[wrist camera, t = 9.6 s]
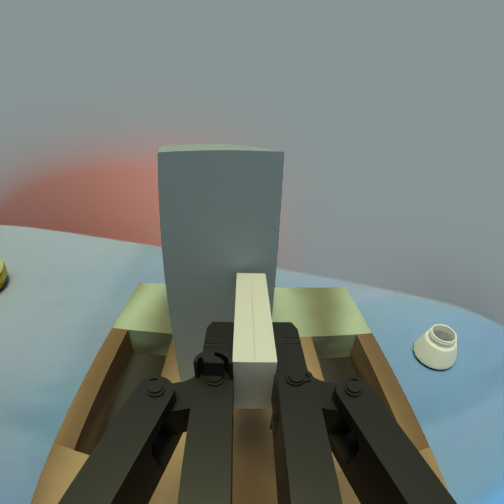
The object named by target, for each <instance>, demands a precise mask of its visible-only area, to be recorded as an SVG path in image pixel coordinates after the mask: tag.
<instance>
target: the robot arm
mask: <svg viewBox="0 0 504 504" xmlns="http://www.w3.org/2000/svg"><path fill="white" fill-rule="evenodd" d="M193 364H194V372H195V376H194V377H193V378H191V379H189V380H186V381H183V382H177V383H172V382H171V381H170V380H169V379H167V378H165V377H162V376H150V377H148V378H145V379H143V380H142V381H141V382H140V383H139V384H138V386H137V387H136V389H135V390H134V391H133V393H132V394H131V396H130V397H129V399H128V400H127V401H126V403H125V404H124V406H123V407H122V409H121V410H120V412H119V413H118V415H117V416H116V417H115V419H114V420H113V422H112V423H111V425H110V426H109V428H108V429H107V431H106V432H105V434H104V435H103V436H102V438H101V439H100V441H99V442H98V444H97V445H96V447H95V448H94V450H93V451H92V453H91V454H90V456H89V457H88V459H87V460H86V462H85V463H84V465H83V466H82V468H81V469H80V471H79V472H78V474H77V475H76V477H75V478H74V480H73V481H72V483H71V484H70V486H69V487H68V489H67V490H66V492H65V493H64V495H63V496H62V498H61V500H60V501H59V503H58V504H149V502H150V500H151V498H152V496H153V494H154V492H155V490H156V488H157V485H158V483H159V481H160V479H161V477H162V475H163V473H164V471H165V469H166V467H167V465H168V463H169V461H170V459H171V457H172V455H173V453H174V451H175V449H176V447H177V445H178V443H179V440H180V438H181V436H182V434H183V432H187V434H186V441H185V448H184V455H183V462H182V470H181V478H180V486H179V494H178V502H177V504H232V488H233V425H234V408H244V409H267V408H271V403H272V417H271V423H270V429H272V437H273V449H274V462H275V474H276V487H277V500H278V504H343V503H342V498H341V493H340V488H339V484H338V479H337V474H336V470H335V465H334V460H333V456H332V453H333V455H334V457H335V458H336V460H337V462H338V464H339V466H340V467H341V469H342V471H343V473H344V475H345V477H346V478H347V480H348V482H349V484H350V486H351V487H352V489H353V491H354V493H355V494H356V496H357V498H358V500H359V502H360V503H361V504H457V503H456V502H455V501H454V499H453V498H452V496H451V495H450V494H449V492H448V491H447V489H446V488H445V487H444V485H443V484H442V483H441V481H440V480H439V478H438V477H437V476H436V474H435V473H434V471H433V470H432V469H431V467H430V466H429V465H428V463H427V462H426V461H425V459H424V458H423V456H422V455H421V454H420V452H419V451H418V450H417V448H416V447H415V446H414V444H413V443H412V442H411V440H410V439H409V437H408V436H407V435H406V433H405V432H404V431H403V429H402V428H401V427H400V425H399V424H398V423H397V421H396V420H395V419H394V417H393V416H392V415H391V413H390V412H389V411H388V409H387V408H386V407H385V405H384V404H383V403H382V401H381V400H380V399H379V397H378V396H377V395H376V393H375V392H374V391H373V389H372V388H371V387H370V385H369V384H368V383H367V382H366V381H365V380H363V379H361V378H359V377H354V376H349V377H344V378H342V379H340V380H339V381H338V383H337V384H336V383H330V382H325V381H321V380H318V379H316V378H315V377H313V375H312V373H311V372H309V371H308V369H307V366H306V361H305V357H304V353H303V349H302V345H301V341H300V337H299V333H298V329H297V328H296V327H295V326H294V324H293V323H292V322H272V318H271V311H270V303H269V296H268V289H267V282H266V274H264V273H237V279H236V298H235V318H234V322H213V321H212V323H211V324H210V325H209V326H208V327H207V329H206V335H205V341H204V347H203V352H201V353H199V354H198V355H197V356H196V357H195V359H194V361H193Z"/></svg>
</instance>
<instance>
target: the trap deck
mask: <svg viewBox="0 0 504 504" xmlns="http://www.w3.org/2000/svg"><path fill="white" fill-rule="evenodd" d="M272 322H292V323H293V324H294V326H295V327H296V328H297V329H298V333H299V337H300V341H301V345H302V349H303V353H304V357H305V361H306V366H307V369H308V371H309V372H311V373H312V375H313V377H315V378H316V379H318V380H321V381H325V382H330V383H336V384H337V383H338V381H339V380H340V379H342V378H344V377H349V376H354V377H359V378H361V379H363V380H365V381H366V382H367V383H368V384H369V385H370V387H371V388H372V389H373V391H374V392H375V393H376V395H377V396H378V397H379V399H380V400H381V401H382V403H383V404H384V405H385V407H386V408H387V409H388V411H389V412H390V413H391V415H392V416H393V417H394V419H395V420H396V421H397V423H398V424H399V425H400V427H401V428H402V429H403V431H404V432H405V433H406V435H407V436H408V437H409V439H410V440H411V442H412V443H413V444H414V446H415V447H416V448H417V450H418V451H419V452H420V454H421V455H422V456H423V458H424V459H425V461H426V462H427V463H428V465H429V466H430V467H431V469H432V470H433V471H434V473H435V474H436V476H437V477H438V478H439V480H440V481H441V483H442V484H443V485H444V487H445V488H446V489H447V487H446V484H445V482H444V479H443V477H442V474H441V472H440V470H439V467H438V465H437V462H436V460H435V458H434V456H433V453H432V451H431V449H430V446H429V444H428V442H427V440H426V438H425V435H424V433H423V431H422V429H421V427H420V425H419V423H418V421H417V418H416V416H415V414H414V412H413V410H412V408H411V406H410V404H409V402H408V400H407V398H406V396H405V394H404V392H403V390H402V388H401V386H400V384H399V382H398V380H397V378H396V376H395V375H394V373H393V371H392V369H391V367H390V365H389V363H388V361H387V359H386V358H385V356H384V354H383V352H382V350H381V348H380V347H379V345H378V343H377V341H376V339H375V338H374V336H373V334H372V332H371V330H370V329H369V327H368V325H367V323H366V322H365V320H364V318H363V316H362V315H361V313H360V311H359V310H358V308H357V306H356V304H355V303H354V301H353V299H352V298H351V296H350V294H349V293H348V291H347V289H346V288H279V287H275V289H274V300H273V311H272ZM150 376H162V377H165V378H167V379H169V380H170V381H171V382H172V383H177V382H183V381H180V377H179V371H178V366H177V360H176V354H175V348H174V342H173V336H172V329H171V322H170V315H169V308H168V300H167V292H166V284H154V283H139V284H138V286H137V288H136V289H135V291H134V292H133V294H132V296H131V297H130V299H129V301H128V302H127V304H126V305H125V307H124V309H123V310H122V312H121V314H120V315H119V317H118V319H117V321H116V322H115V324H114V326H113V327H112V329H111V331H110V333H109V334H108V336H107V338H106V340H105V341H104V343H103V345H102V347H101V348H100V350H99V352H98V354H97V356H96V358H95V359H94V361H93V363H92V365H91V367H90V369H89V371H88V373H87V374H86V376H85V378H84V380H83V382H82V384H81V386H80V388H79V390H78V392H77V394H76V396H75V398H74V400H73V402H72V404H71V406H70V408H69V410H68V413H67V415H66V417H65V419H64V421H63V423H62V426H61V428H60V430H59V432H58V434H57V437H56V439H55V441H54V444H53V446H52V448H51V451H50V453H49V456H48V458H47V461H46V463H45V466H44V468H43V471H42V473H41V476H40V479H39V481H38V484H37V487H36V490H35V493H34V495H33V498H32V501H31V504H58V503H59V501H60V500H61V498H62V496H63V495H64V493H65V492H66V490H67V489H68V487H69V486H70V484H71V483H72V481H73V480H74V478H75V477H76V475H77V474H78V472H79V471H80V469H81V468H82V466H83V465H84V463H85V462H86V460H87V459H88V457H89V456H90V454H91V453H92V451H93V450H94V448H95V447H96V445H97V444H98V442H99V441H100V439H101V438H102V436H103V435H104V434H105V432H106V431H107V429H108V428H109V426H110V425H111V423H112V422H113V420H114V419H115V417H116V416H117V415H118V413H119V412H120V410H121V409H122V407H123V406H124V404H125V403H126V401H127V400H128V399H129V397H130V396H131V394H132V393H133V391H134V390H135V389H136V387H137V386H138V384H139V383H140V382H141V381H142V380H143V379H145V378H148V377H150ZM271 417H272V403H271V408H267V409H244V408H234V425H233V488H232V504H278V500H277V487H276V474H275V462H274V449H273V437H272V429H270V423H271ZM186 434H187V432H183V434H182V436H181V438H180V440H179V443H178V445H177V447H176V449H175V451H174V453H173V455H172V457H171V459H170V461H169V463H168V465H167V467H166V469H165V471H164V473H163V475H162V477H161V479H160V481H159V483H158V485H157V488H156V490H155V492H154V494H153V496H152V498H151V500H150V502H149V504H177V502H178V494H179V486H180V478H181V470H182V462H183V455H184V448H185V441H186ZM332 456H333V460H334V465H335V470H336V474H337V479H338V484H339V488H340V493H341V498H342V503H343V504H361V503H360V502H359V500H358V498H357V496H356V494H355V493H354V491H353V489H352V487H351V486H350V484H349V482H348V480H347V478H346V477H345V475H344V473H343V471H342V469H341V467H340V466H339V464H338V462H337V460H336V458H335V457H334V455H333V453H332ZM447 491H448V489H447Z"/></svg>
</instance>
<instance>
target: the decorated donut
mask: <svg viewBox="0 0 504 504" xmlns="http://www.w3.org/2000/svg"><path fill="white" fill-rule="evenodd" d="M6 276H7V270H6V267H5V264H4V261H3V260H2V259H0V290H1V289H2V288H3V286H4V284H5V282H6Z"/></svg>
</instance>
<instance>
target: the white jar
mask: <svg viewBox="0 0 504 504" xmlns="http://www.w3.org/2000/svg"><path fill="white" fill-rule="evenodd" d="M456 340H457V335H456V333H455V331H454V330H453V329H451V328H450V327H448V326H446V325H442V324H436V325H433V326H432V327H431V329H429V330H427V331H426V332H425V333H424V334H423V335H422V336H420V337H419V338H418V339H417V340H416V341H415V343H414V348H413V350H414V353H415V356H416V357H417V358H418V359H419V360H420V362H422V363H423V364H425V365H426V366H428V367H430V368H434V369H437V370H441V369H448V368H450V367H452V365H453V364H454V363H455V361H456V358H457V342H456Z"/></svg>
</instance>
